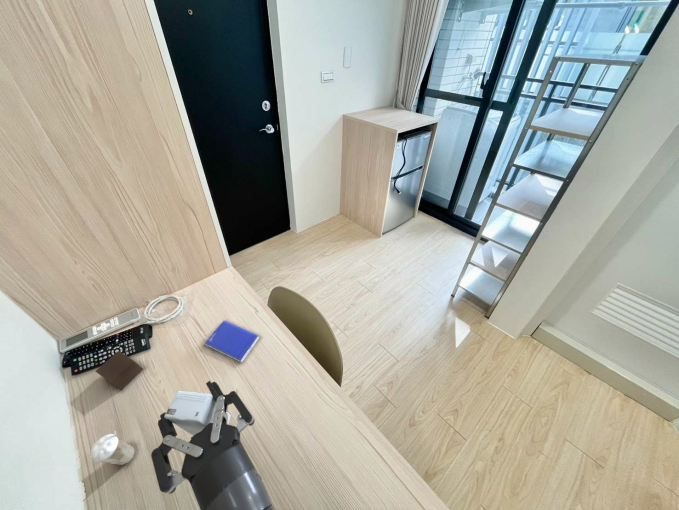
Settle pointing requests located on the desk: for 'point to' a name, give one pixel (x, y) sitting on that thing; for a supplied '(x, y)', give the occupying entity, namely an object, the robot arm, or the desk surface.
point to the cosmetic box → (192, 411)
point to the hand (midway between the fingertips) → (187, 398)
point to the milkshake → (111, 450)
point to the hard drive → (232, 341)
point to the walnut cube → (119, 370)
